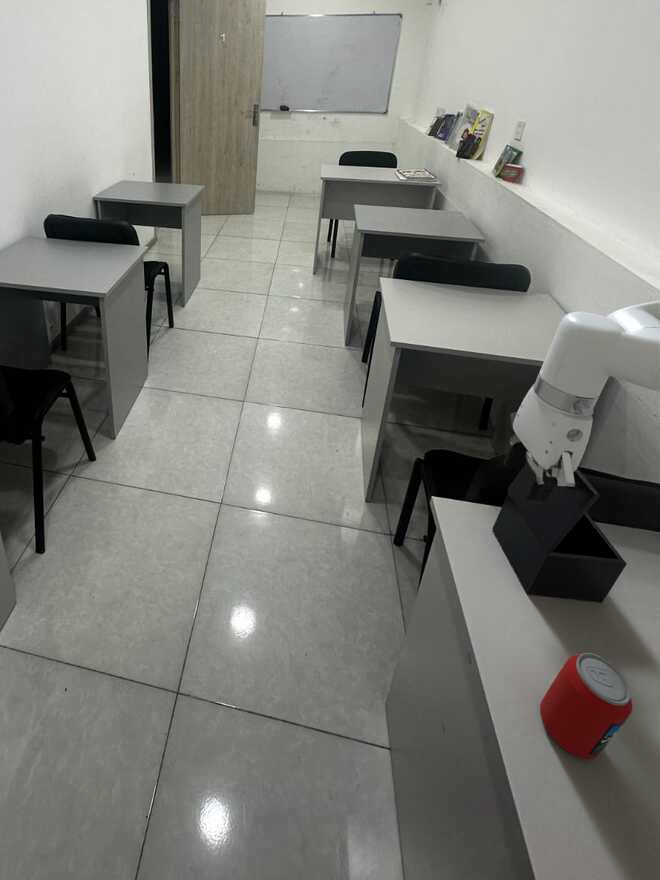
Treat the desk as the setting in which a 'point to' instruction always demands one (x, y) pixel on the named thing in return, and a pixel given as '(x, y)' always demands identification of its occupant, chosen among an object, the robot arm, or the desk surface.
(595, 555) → the box
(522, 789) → the desk surface
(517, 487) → the lid
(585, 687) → the beverage can
